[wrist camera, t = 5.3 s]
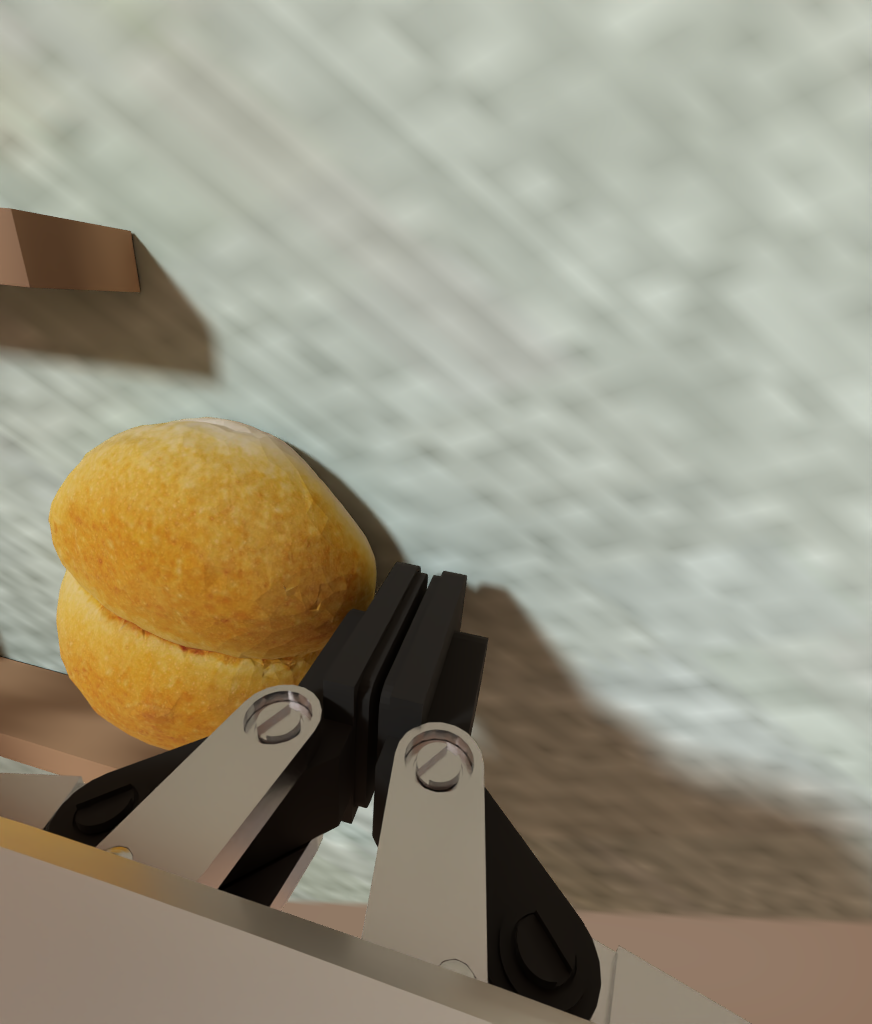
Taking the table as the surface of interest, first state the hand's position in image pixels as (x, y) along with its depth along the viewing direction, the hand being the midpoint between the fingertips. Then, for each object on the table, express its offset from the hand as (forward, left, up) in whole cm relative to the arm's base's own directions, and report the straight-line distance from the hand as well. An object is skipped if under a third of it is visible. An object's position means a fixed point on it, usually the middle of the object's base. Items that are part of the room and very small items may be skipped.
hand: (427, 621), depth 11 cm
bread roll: (+6, +1, -1) cm, 6 cm away
